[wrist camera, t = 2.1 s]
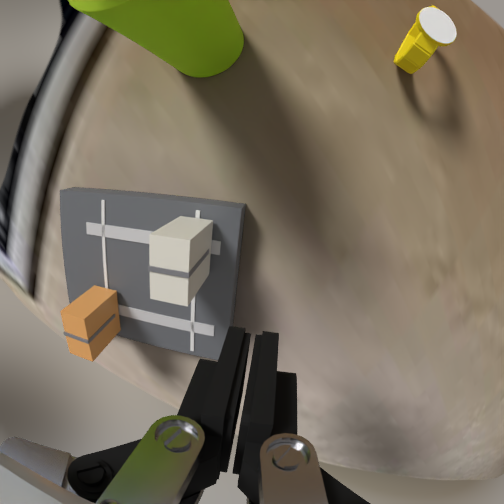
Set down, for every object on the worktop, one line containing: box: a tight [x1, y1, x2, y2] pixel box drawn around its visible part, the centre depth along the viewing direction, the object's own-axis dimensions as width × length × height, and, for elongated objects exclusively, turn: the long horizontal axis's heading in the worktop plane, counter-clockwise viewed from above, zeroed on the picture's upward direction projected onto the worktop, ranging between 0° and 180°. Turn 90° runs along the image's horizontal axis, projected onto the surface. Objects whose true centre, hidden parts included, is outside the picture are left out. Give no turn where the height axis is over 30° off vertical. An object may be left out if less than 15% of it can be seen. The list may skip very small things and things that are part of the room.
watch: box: [394, 6, 457, 74], centre depth 14 cm, size 6×3×6 cm, turn 150°
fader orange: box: [61, 285, 121, 362], centre depth 22 cm, size 2×4×5 cm, turn 173°
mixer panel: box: [60, 187, 246, 360], centre depth 24 cm, size 16×13×2 cm
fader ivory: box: [148, 216, 213, 307], centre depth 19 cm, size 2×4×5 cm, turn 173°
